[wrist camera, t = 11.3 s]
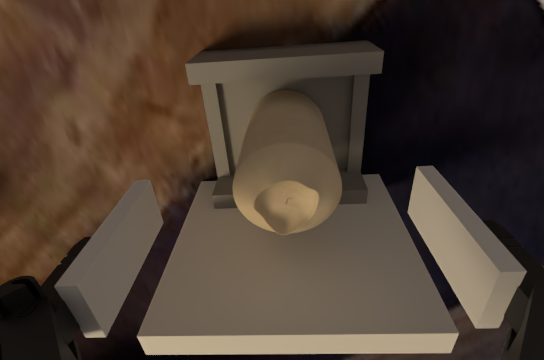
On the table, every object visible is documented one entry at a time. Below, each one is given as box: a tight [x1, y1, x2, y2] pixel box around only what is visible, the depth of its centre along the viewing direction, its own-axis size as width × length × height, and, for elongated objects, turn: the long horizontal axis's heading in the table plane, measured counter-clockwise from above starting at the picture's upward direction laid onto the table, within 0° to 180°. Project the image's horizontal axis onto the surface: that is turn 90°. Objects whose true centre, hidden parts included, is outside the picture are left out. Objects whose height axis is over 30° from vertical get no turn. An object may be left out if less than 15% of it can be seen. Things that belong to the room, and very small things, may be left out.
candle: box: [232, 90, 342, 235], centre depth 19 cm, size 6×6×10 cm
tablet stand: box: [137, 40, 459, 355], centre depth 18 cm, size 15×12×14 cm
